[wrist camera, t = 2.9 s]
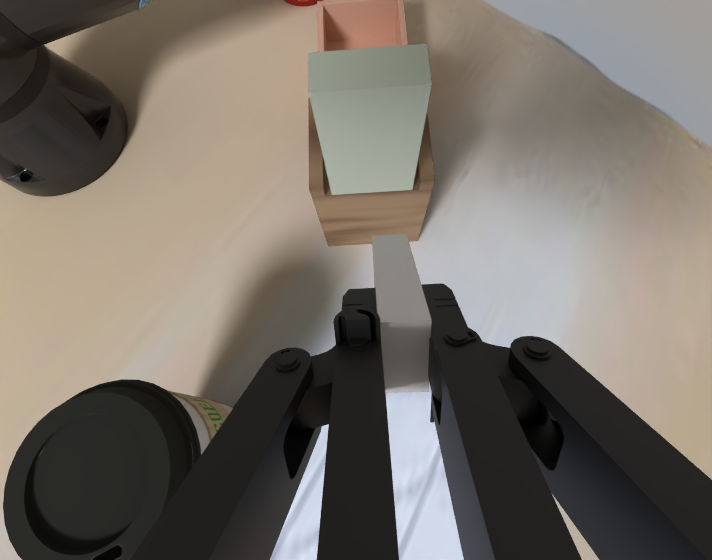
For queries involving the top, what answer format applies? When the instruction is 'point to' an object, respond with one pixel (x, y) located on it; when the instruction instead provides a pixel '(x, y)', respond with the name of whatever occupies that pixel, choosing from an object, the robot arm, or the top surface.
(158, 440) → the coffee cup
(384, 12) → the pink open box
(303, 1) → the canned food
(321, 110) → the pale green block
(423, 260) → the top surface
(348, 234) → the launcher
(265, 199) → the top surface
